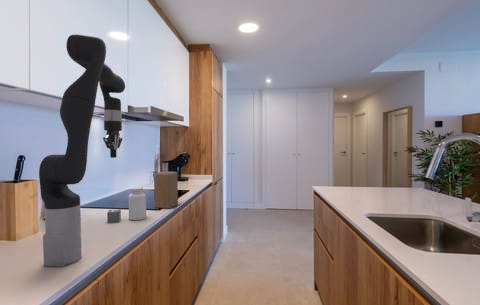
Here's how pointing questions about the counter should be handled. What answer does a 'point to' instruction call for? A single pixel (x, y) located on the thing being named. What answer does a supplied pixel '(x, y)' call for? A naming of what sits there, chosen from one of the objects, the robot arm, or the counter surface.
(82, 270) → the counter surface
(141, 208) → the pill bottle
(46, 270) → the counter surface
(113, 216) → the number cube
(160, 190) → the wooden block
